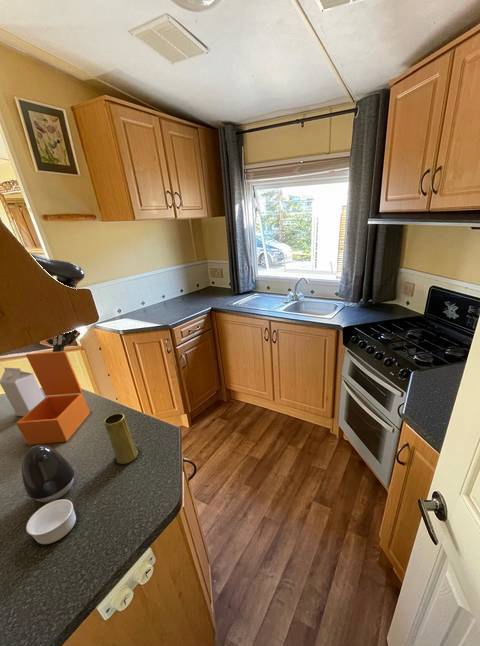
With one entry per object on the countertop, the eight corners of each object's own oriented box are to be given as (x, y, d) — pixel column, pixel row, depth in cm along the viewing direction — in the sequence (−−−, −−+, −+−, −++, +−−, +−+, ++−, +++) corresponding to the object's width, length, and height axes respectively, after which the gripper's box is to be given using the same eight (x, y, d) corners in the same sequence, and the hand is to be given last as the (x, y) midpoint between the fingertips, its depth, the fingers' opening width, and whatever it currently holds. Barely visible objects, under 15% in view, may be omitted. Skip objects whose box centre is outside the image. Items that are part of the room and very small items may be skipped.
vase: (130, 465, 84) (116, 426, 78) (111, 463, 85) (96, 424, 79) (142, 450, 90) (130, 412, 83) (124, 448, 91) (111, 411, 85)
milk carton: (34, 405, 116) (13, 363, 108) (48, 406, 115) (28, 363, 106) (17, 416, 110) (-7, 372, 102) (32, 417, 109) (9, 373, 100)
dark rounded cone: (45, 516, 71) (18, 470, 64) (26, 498, 76) (-1, 454, 69) (86, 485, 78) (66, 442, 72) (67, 471, 83) (46, 429, 77)
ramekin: (29, 530, 67) (21, 518, 66) (72, 504, 73) (66, 492, 71) (39, 556, 62) (31, 543, 60) (84, 525, 68) (78, 513, 66)
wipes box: (67, 441, 95) (57, 419, 91) (27, 444, 95) (15, 423, 91) (90, 413, 109) (82, 393, 105) (55, 416, 109) (46, 396, 105)
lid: (64, 352, 97) (65, 351, 98) (25, 354, 97) (27, 353, 98) (81, 393, 105) (82, 391, 106) (45, 395, 104) (47, 394, 105)
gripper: (39, 309, 105) (30, 353, 99) (76, 306, 105) (69, 350, 100) (53, 318, 112) (45, 360, 106) (88, 316, 113) (82, 358, 107)
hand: (57, 355), depth 103 cm, fingers closed
